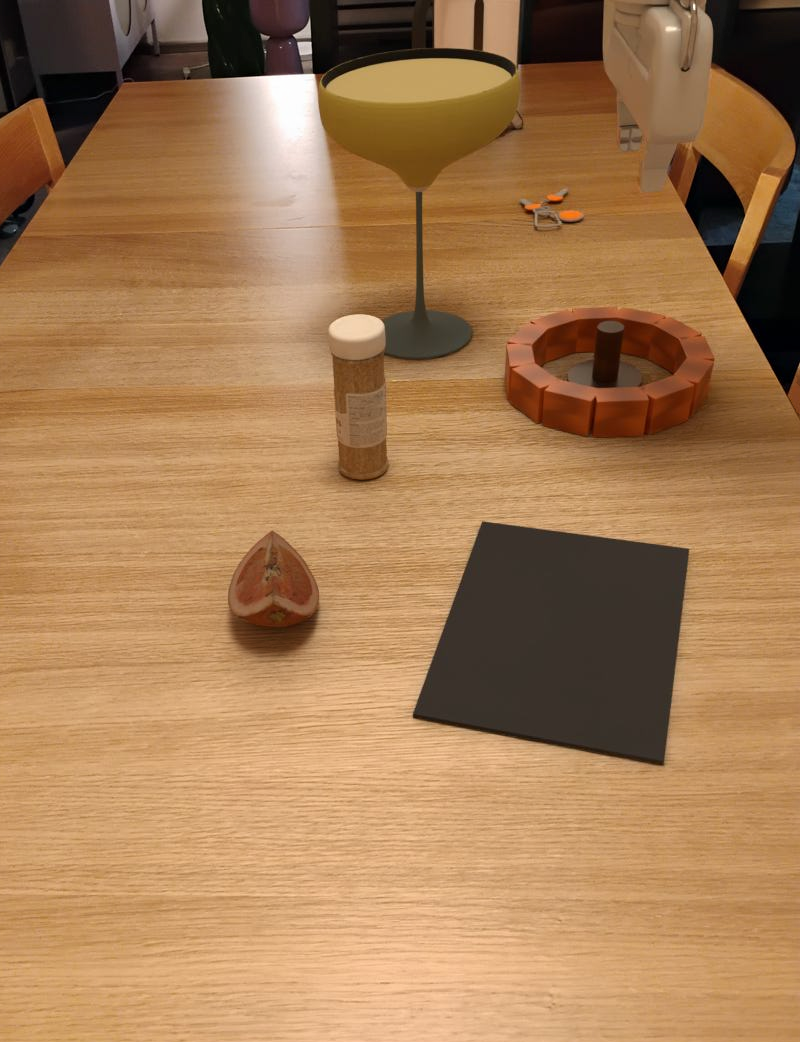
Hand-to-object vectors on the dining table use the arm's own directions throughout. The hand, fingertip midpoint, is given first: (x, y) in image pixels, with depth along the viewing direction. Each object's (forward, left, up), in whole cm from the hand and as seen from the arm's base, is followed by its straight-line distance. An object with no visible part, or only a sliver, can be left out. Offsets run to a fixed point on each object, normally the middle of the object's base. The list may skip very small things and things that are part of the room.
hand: (638, 168), depth 82 cm
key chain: (-24, -42, -21) cm, 52 cm away
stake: (-2, -3, -21) cm, 21 cm away
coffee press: (-33, -75, -21) cm, 84 cm away
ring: (-2, -3, -21) cm, 21 cm away
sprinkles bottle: (+24, -3, -21) cm, 32 cm away
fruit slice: (+39, +11, -21) cm, 46 cm away
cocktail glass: (+7, -22, -21) cm, 31 cm away
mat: (+22, +23, -21) cm, 39 cm away
